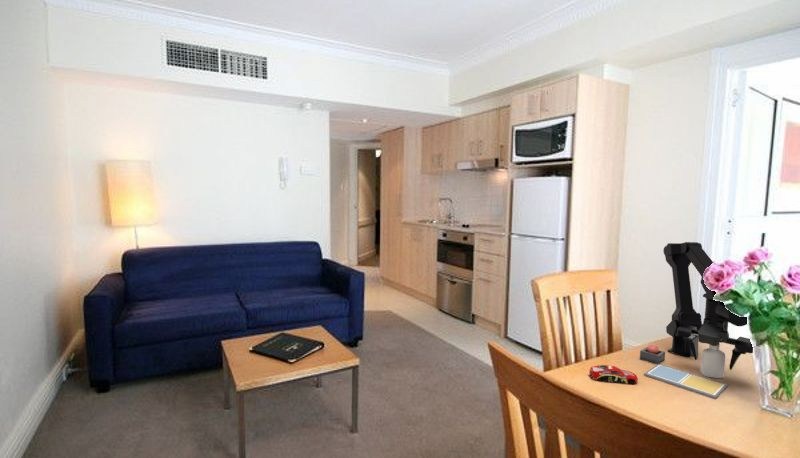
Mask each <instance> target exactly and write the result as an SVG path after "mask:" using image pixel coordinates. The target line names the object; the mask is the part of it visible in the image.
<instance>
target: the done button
mask: <svg viewBox="0 0 800 458" xmlns="http://www.w3.org/2000/svg"><path fill="white" fill-rule="evenodd" d="M646 347H647V352H649V353H653V354H658V350H660V349H659V347H658V346H657V345H654V344H653V345H652V344H649V345H646Z"/></svg>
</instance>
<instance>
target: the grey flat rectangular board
mask: <svg viewBox="0 0 800 458" xmlns="http://www.w3.org/2000/svg"><path fill="white" fill-rule="evenodd" d="M643 376H644V377H648V378H650V379H652V380H656V381H659V382H662V383H664V384H668V385H671V386H674V387H678V388H680V389H684V390H686V391H689V392H693V393H695V394H698V395H702V396H704V397H707V398H711V399H714V400H716V399H718V398H719V397H720V396H721V394H723V392H724V391H725V390H726V389H727V388H728V387H729V384H727V383H724V382H721V381H718V380H715V379H712V378H709V377H706V376H701V375H698V374H694V373H692V372H690V371H688V372H687V371H684V370H682V369H678V368H675V367H673V366H672V367H671V366H668V365H665V364H663V363H660V364H655V366H652V368H650V369H649V370H647V371H646V372H645V373H643Z"/></svg>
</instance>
